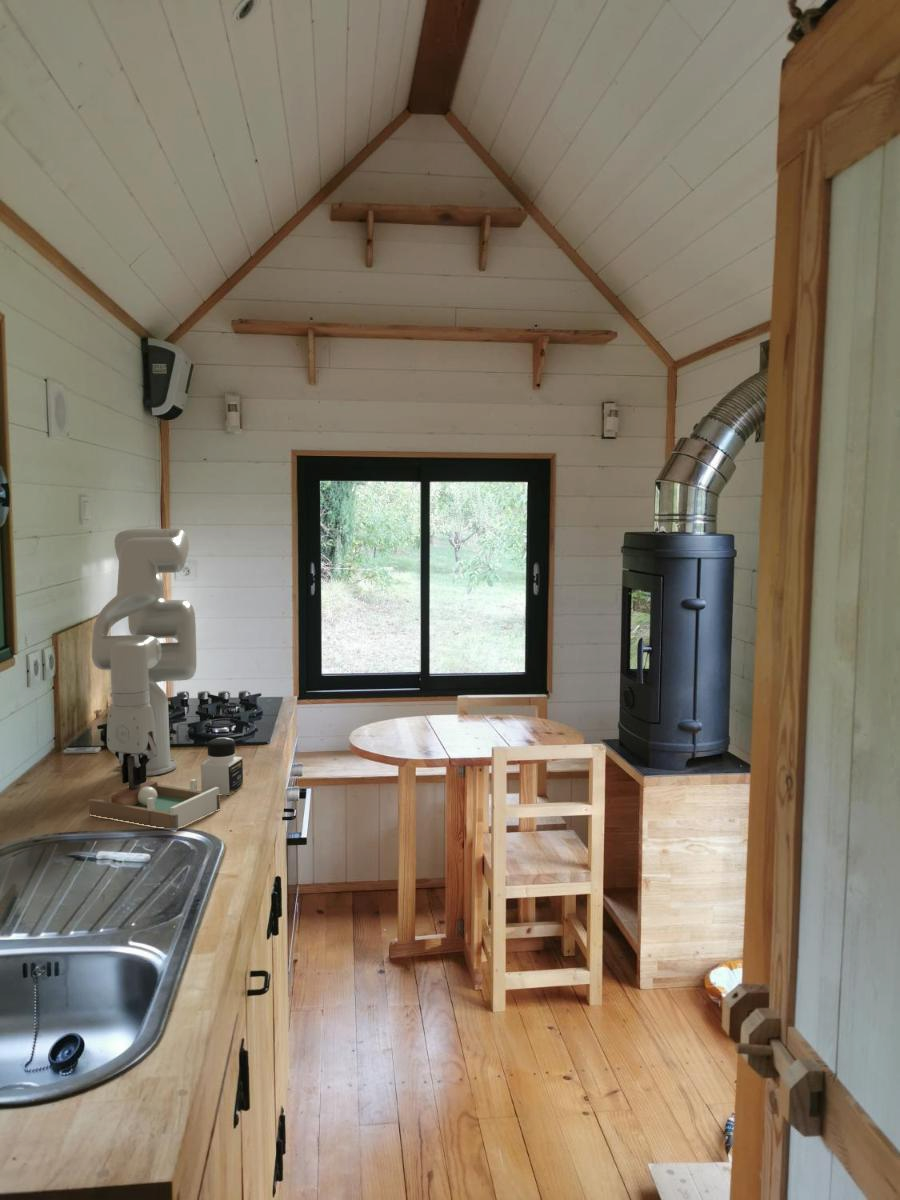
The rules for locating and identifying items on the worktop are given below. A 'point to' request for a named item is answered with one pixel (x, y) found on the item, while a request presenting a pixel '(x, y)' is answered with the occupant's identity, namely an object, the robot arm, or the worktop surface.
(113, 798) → the striker
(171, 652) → the robot arm
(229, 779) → the medicine bottle
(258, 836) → the worktop surface
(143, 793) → the ball
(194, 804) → the pitch
